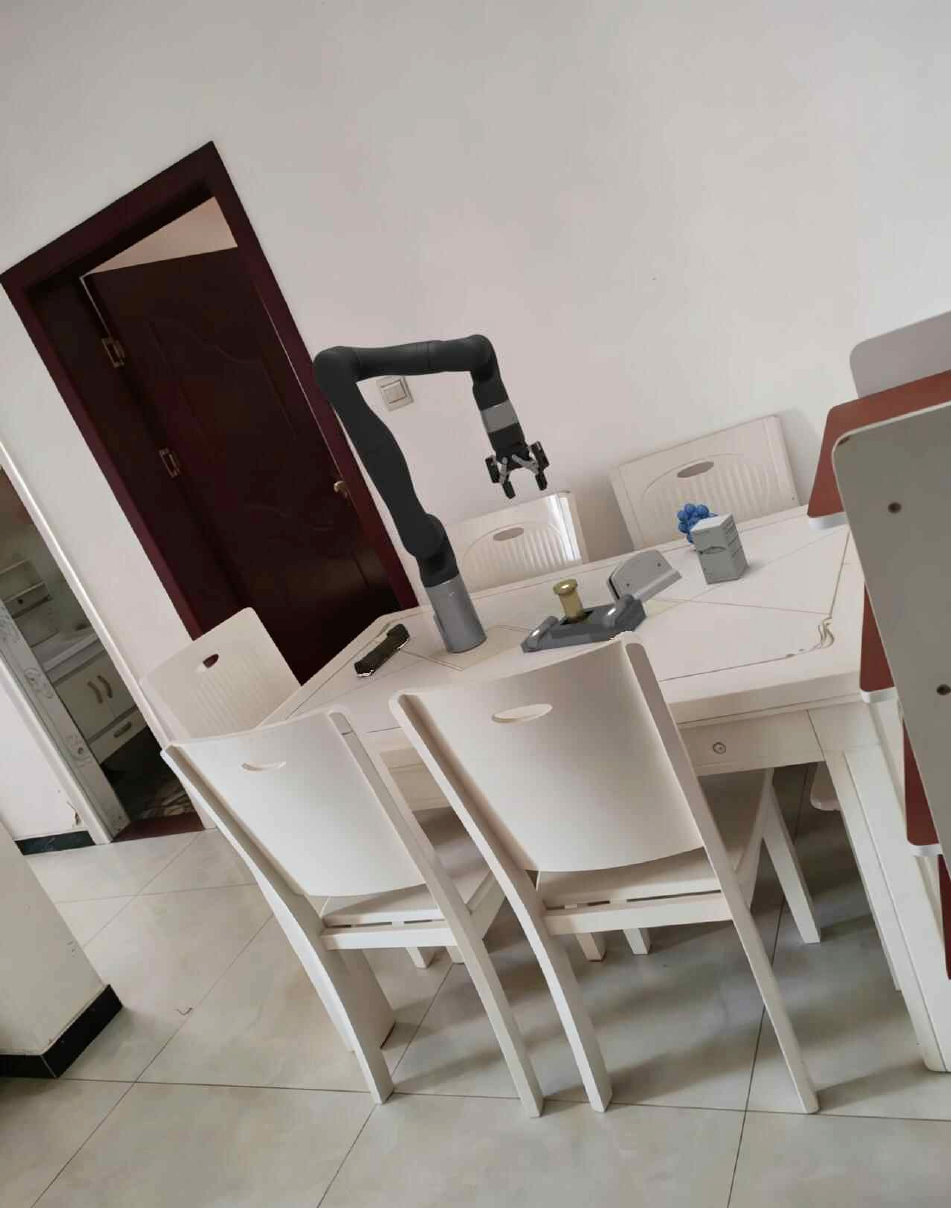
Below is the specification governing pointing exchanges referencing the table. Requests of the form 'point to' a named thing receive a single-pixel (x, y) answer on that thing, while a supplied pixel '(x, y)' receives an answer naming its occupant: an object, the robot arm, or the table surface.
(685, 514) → the grapes
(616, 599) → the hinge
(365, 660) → the hand tool
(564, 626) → the gray socket base
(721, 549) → the supplement box
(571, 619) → the brass pin
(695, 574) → the table surface
